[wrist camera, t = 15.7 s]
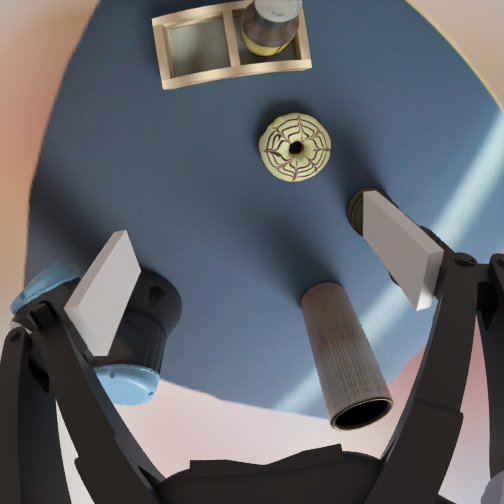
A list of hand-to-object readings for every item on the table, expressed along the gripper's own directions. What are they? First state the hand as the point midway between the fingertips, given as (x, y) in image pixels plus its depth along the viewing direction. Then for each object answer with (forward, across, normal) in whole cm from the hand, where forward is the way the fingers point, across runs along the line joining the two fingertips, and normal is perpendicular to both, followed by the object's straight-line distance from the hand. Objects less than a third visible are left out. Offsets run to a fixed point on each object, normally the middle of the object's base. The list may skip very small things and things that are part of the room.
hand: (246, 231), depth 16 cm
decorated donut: (+33, +8, -2) cm, 34 cm away
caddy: (+32, +1, +15) cm, 36 cm away
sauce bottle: (+31, +6, +15) cm, 35 cm away
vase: (+33, +12, -34) cm, 49 cm away
